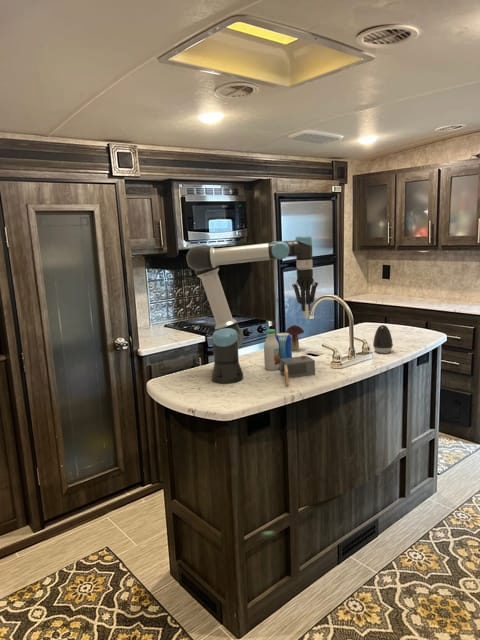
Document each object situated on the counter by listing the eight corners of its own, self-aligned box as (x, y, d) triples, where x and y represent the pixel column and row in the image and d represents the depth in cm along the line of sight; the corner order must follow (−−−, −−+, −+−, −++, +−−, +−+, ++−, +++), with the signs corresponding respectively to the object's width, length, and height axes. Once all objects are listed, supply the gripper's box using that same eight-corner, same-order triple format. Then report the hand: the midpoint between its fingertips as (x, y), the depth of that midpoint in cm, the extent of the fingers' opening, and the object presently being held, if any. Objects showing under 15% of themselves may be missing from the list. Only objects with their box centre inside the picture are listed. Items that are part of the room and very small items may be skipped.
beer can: (291, 366, 238) (290, 335, 235) (275, 366, 240) (273, 335, 237) (292, 361, 246) (291, 332, 243) (277, 361, 248) (275, 332, 245)
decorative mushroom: (291, 354, 262) (291, 327, 260) (282, 350, 272) (281, 324, 270) (308, 351, 267) (307, 325, 264) (298, 347, 277) (297, 322, 274)
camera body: (284, 378, 219) (283, 362, 217) (277, 372, 228) (277, 357, 227) (315, 374, 222) (314, 358, 221) (307, 369, 232) (306, 354, 230)
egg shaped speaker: (372, 354, 253) (372, 326, 250) (374, 349, 262) (374, 323, 260) (391, 355, 249) (392, 327, 246) (393, 350, 258) (393, 323, 256)
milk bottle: (269, 371, 231) (268, 332, 228) (261, 368, 238) (260, 329, 235) (282, 368, 235) (281, 329, 231) (274, 365, 242) (273, 327, 238)
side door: (283, 377, 218) (283, 364, 217) (287, 377, 218) (286, 363, 217) (285, 385, 206) (284, 371, 205) (288, 385, 206) (288, 371, 205)
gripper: (295, 270, 216) (297, 320, 220) (320, 268, 220) (321, 317, 224) (288, 269, 223) (290, 317, 227) (313, 267, 227) (314, 315, 231)
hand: (306, 317), depth 226 cm, fingers closed
